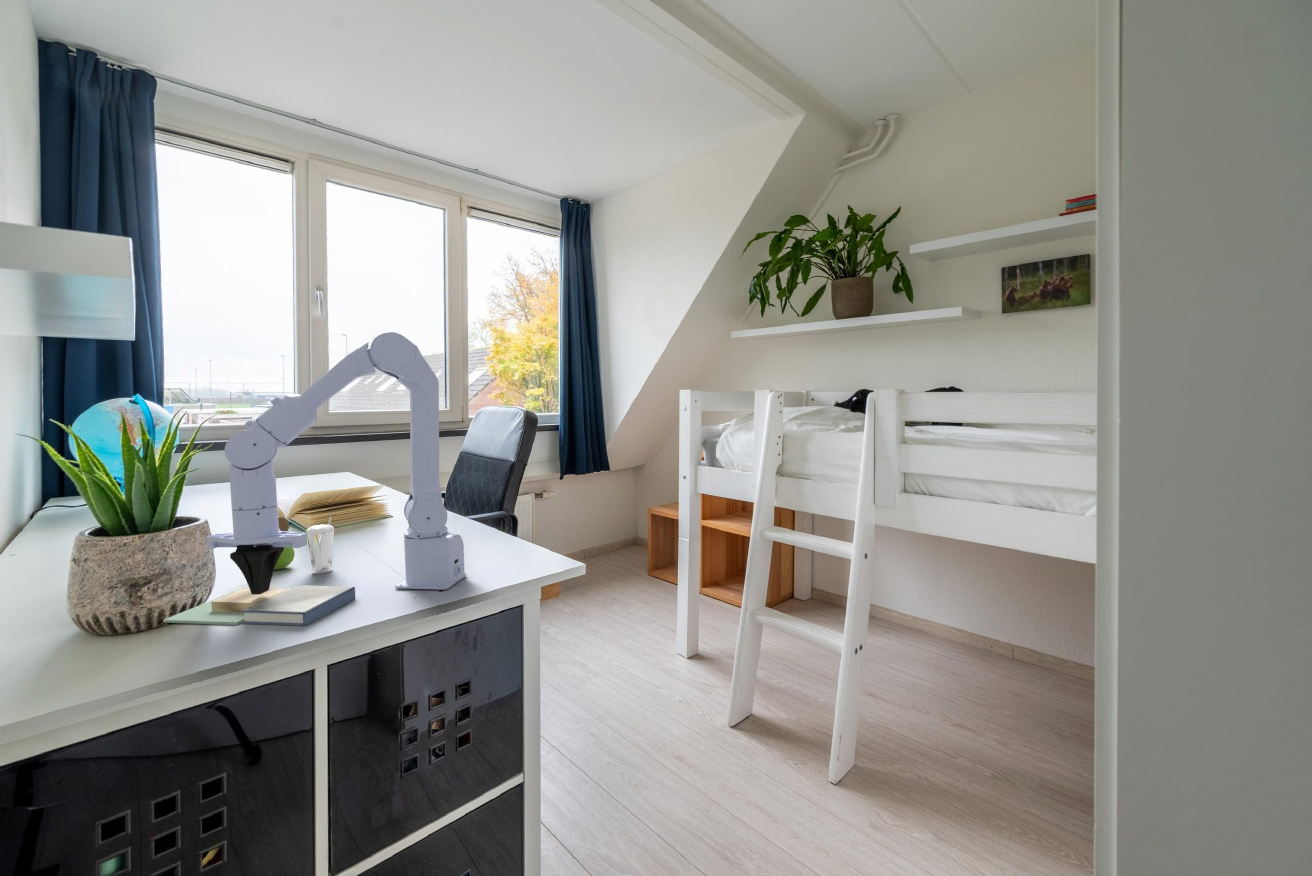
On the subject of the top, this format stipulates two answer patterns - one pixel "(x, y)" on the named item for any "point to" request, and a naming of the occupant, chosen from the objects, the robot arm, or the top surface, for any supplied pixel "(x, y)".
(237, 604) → the tile
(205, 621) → the mat
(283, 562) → the snail figurine
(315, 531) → the milkshake
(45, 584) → the top surface
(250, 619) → the notebook
